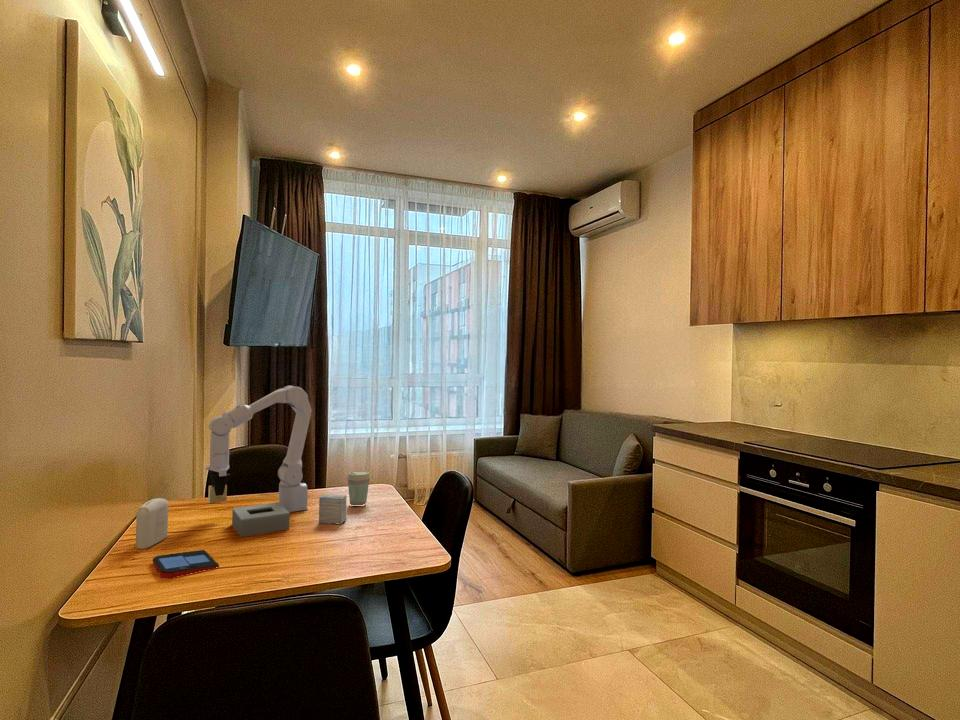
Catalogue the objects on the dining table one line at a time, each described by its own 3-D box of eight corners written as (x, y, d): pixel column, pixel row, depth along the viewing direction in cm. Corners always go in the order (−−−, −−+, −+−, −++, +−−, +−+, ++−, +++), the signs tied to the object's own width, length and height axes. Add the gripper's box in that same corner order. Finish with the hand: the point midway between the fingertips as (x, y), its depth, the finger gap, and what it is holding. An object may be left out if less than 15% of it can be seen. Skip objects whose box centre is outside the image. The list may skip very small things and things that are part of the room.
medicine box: (346, 520, 170) (347, 495, 170) (341, 525, 166) (342, 498, 166) (323, 519, 171) (324, 493, 171) (318, 523, 166) (319, 497, 166)
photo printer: (155, 536, 150) (156, 495, 151) (169, 537, 151) (171, 495, 151) (132, 549, 140) (133, 504, 140) (148, 549, 140) (149, 504, 140)
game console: (219, 569, 129) (220, 561, 129) (161, 583, 121) (161, 573, 121) (205, 553, 140) (205, 545, 140) (150, 564, 131) (151, 555, 131)
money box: (277, 517, 171) (277, 502, 171) (289, 529, 160) (289, 512, 160) (232, 524, 163) (232, 508, 163) (240, 537, 152) (241, 519, 152)
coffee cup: (347, 502, 193) (348, 470, 193) (370, 501, 194) (371, 470, 194) (344, 508, 184) (345, 475, 185) (368, 508, 185) (369, 475, 185)
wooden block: (225, 498, 171) (225, 483, 171) (226, 500, 168) (227, 485, 168) (208, 500, 168) (208, 485, 168) (209, 502, 165) (210, 487, 165)
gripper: (202, 450, 172) (201, 490, 172) (209, 457, 160) (208, 500, 160) (225, 449, 176) (224, 488, 176) (233, 455, 164) (232, 497, 164)
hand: (218, 494), depth 168 cm, fingers closed on wooden block, 3 cm apart
